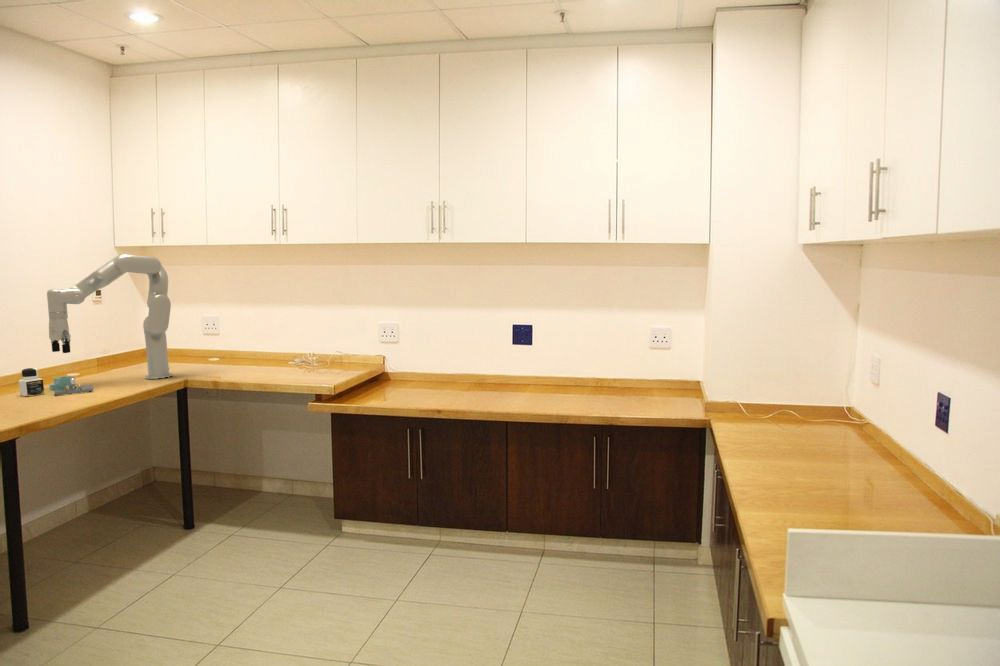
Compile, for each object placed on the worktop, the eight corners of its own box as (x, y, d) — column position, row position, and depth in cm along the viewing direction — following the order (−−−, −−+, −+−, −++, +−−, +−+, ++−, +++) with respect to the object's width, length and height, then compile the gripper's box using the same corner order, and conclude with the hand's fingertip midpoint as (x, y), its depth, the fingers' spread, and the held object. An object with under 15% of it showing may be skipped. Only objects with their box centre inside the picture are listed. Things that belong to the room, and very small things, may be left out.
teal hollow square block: (68, 386, 347) (67, 375, 346) (75, 387, 343) (74, 376, 343) (47, 389, 339) (46, 379, 339) (54, 390, 336) (53, 380, 335)
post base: (54, 391, 335) (53, 378, 335) (92, 387, 343) (90, 374, 342) (54, 396, 322) (53, 382, 322) (93, 391, 330) (92, 378, 329)
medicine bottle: (27, 397, 322) (24, 370, 321) (19, 395, 326) (16, 369, 325) (44, 394, 328) (42, 367, 327) (36, 392, 332) (33, 366, 331)
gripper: (40, 315, 340) (43, 352, 342) (59, 316, 331) (62, 354, 332) (57, 314, 346) (60, 350, 348) (76, 315, 337) (79, 352, 339)
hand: (61, 352), depth 340 cm, fingers open, 9 cm apart
